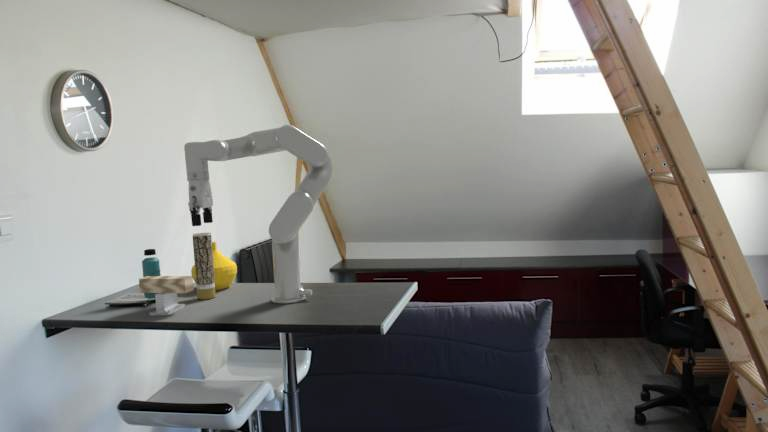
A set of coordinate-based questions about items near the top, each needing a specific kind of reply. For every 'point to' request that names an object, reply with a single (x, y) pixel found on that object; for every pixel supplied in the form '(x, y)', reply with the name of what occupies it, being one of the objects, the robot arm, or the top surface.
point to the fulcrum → (166, 304)
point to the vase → (221, 269)
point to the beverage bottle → (150, 268)
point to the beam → (166, 284)
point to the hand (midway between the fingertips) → (202, 224)
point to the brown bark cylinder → (204, 265)
